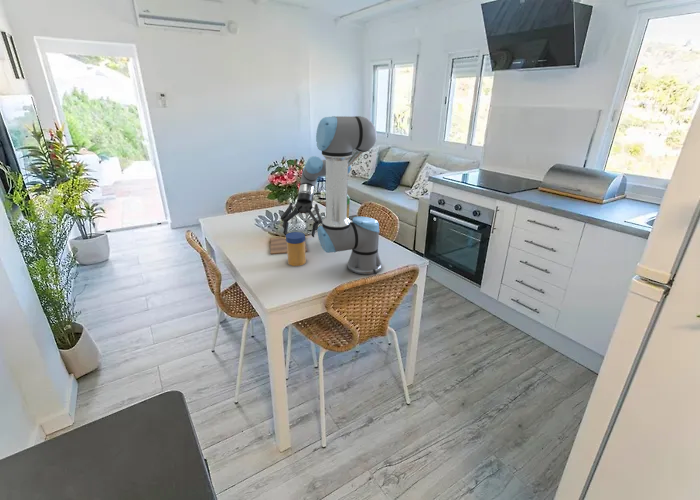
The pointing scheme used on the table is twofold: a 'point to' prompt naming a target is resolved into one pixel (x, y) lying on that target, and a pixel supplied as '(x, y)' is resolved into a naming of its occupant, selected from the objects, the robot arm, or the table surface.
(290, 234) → the lid
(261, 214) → the table surface
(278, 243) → the mat
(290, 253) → the jar
